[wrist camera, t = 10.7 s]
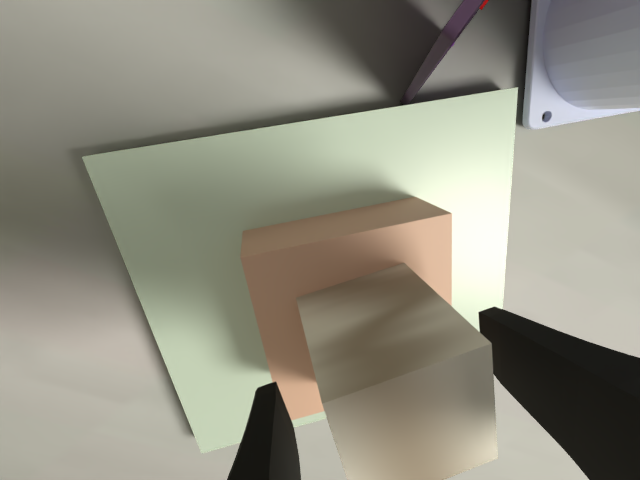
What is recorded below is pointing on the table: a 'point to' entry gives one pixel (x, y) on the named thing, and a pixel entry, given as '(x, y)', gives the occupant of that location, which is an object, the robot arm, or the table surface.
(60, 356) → the table surface
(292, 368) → the base brick
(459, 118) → the base plate
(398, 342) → the top brick
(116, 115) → the table surface
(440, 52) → the purple and pink piece
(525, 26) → the table surface
